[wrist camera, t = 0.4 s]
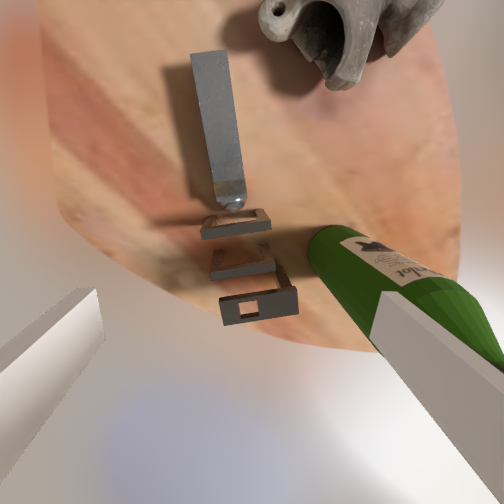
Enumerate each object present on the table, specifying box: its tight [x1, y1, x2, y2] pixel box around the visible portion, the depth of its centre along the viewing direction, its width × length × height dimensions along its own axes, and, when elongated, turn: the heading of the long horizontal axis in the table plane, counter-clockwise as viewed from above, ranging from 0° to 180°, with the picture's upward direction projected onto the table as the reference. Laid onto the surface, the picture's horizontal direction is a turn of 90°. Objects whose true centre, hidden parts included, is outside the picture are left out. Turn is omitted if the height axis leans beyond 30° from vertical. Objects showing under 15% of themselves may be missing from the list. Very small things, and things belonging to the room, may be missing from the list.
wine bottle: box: [308, 225, 504, 369], centre depth 24 cm, size 9×9×32 cm
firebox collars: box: [200, 209, 299, 326], centre depth 33 cm, size 12×10×10 cm
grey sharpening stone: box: [190, 49, 247, 212], centre depth 31 cm, size 18×4×4 cm, turn 8°
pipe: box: [258, 0, 445, 91], centre depth 26 cm, size 16×9×15 cm
